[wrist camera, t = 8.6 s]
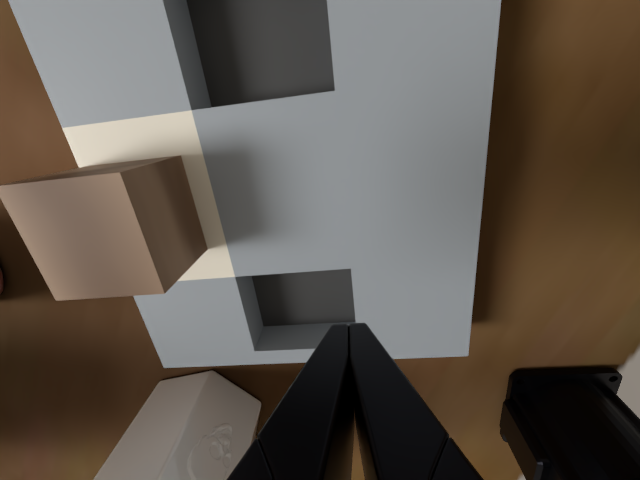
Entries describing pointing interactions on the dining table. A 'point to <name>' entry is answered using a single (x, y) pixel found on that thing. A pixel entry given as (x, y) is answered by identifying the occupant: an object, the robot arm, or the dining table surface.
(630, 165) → the dining table surface
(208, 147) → the trap deck
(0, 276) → the supplement bottle
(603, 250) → the dining table surface
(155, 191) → the walnut block
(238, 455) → the jar
